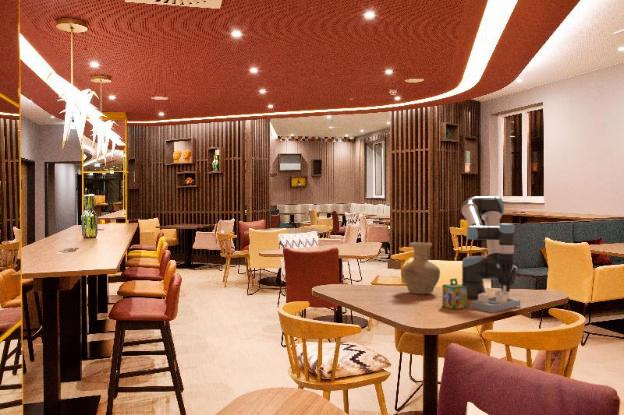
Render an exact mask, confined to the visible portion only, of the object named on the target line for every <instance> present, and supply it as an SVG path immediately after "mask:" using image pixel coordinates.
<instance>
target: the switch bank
mask: <svg viewBox="0 0 624 415" xmlns="http://www.w3.org/2000/svg"><path fill="white" fill-rule="evenodd" d="M517 306H520V307H521V299H517V298H510V297H508V298H507V302H504V303H500V302H496V296H492V297H489V304H488V303H483V302H478V299H474V300H471V301H470V309H473V310H479V311H482V312H488V313H496V312H497V311H498V312H501V310H502V311H506V310H505V309H507V310H510V309H509V308H512V309H514V308H513V307H516V308H518V307H517ZM498 312H497V313H498Z"/></svg>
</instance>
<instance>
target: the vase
mask: <svg viewBox="0 0 624 415" xmlns="http://www.w3.org/2000/svg"><path fill="white" fill-rule="evenodd" d="M409 246H410V247H411V248H413V260H412V261H409V262H408V263H406V264H405V265H403V266H402V268H401V278H402V280H403V282H404V284H405V286H406V288H407V291H408V292H409V293H411V294H414V295H415V294H416V295H427V294H433V292H434V289H435V287H436V286H437V284H438V283H439V280H440V276H441V270H440V268H439V267H438V266H437V265H436V264H435V263H433V262H430V261H429V259H428V257H429V255H428V250H429V249H430V248H432V246H433V244H432V243H431V242H422V241H421V242H420V241H419V242H418V241H417V242H414V241H413V242H410V243H409Z"/></svg>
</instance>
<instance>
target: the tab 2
mask: <svg viewBox="0 0 624 415" xmlns="http://www.w3.org/2000/svg"><path fill="white" fill-rule="evenodd" d="M495 297H496V302H500V303H504V302H507V295H505V294H504V293H499V294H496V293H495Z"/></svg>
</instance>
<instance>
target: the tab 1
mask: <svg viewBox="0 0 624 415" xmlns="http://www.w3.org/2000/svg"><path fill="white" fill-rule="evenodd" d="M489 298H490V294H487V292H486V293H481V294H478V299H477V300H478V302H483V303H488V304H489Z"/></svg>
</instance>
